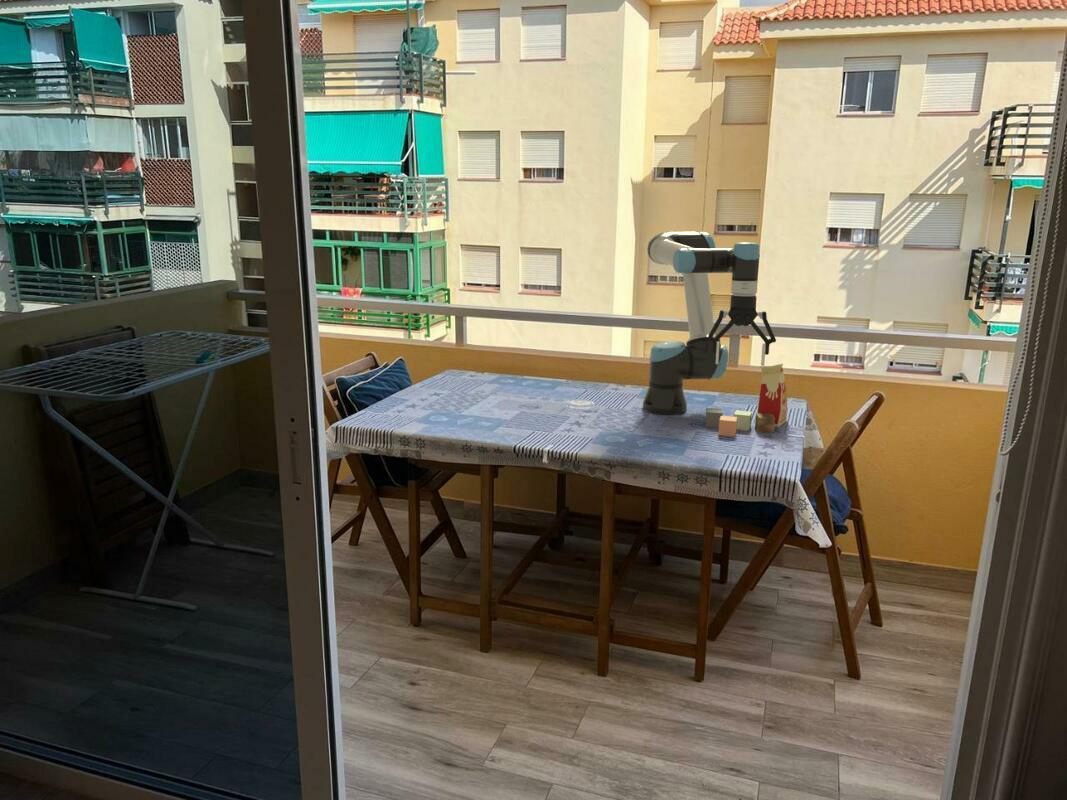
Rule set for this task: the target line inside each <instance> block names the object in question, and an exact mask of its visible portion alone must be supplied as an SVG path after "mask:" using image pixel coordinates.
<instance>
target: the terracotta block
mask: <svg viewBox="0 0 1067 800" xmlns="http://www.w3.org/2000/svg"><path fill="white" fill-rule="evenodd" d="M736 425H737V417H734V416H729V415H723V416H721V417H720V420H719V427H718V435H719V436H726V437H736V433H737V429H736ZM718 435H717V436H718Z"/></svg>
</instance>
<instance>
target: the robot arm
mask: <svg viewBox="0 0 1067 800" xmlns="http://www.w3.org/2000/svg"><path fill="white" fill-rule="evenodd" d="M647 256H648V257H649V259H650V260H651V261H652V262H654V263H656V264H657V265H669V266H670V267H671V266H672V267H673V269H674V271H675V272H676V273H677V274H681V275H682V276H683V277H682V278H683V287H684V294H685V305H686V313H687V322H688V331H689V338H688V339H687V341H686V343H685V342H684V341H680V340H679V341H678V340H677V341H676V340H675V341H673V340H670V341H663V342H659V343H656V344H654V345H653V346H652V347H651V348H650V354H649V355H650V356H649V371H648V372H649V373H648V374H649V377H648V378H649V379H648V388H647V390H646V393H645V396H644V397H643V398H644V399H643V402H642V410H644V411H645V412H648V413H651V414H655V415H669V416H670V415H679V414H683V413H685V412H686V411H687V407H688V403H687V400H686V395H685V392H684V388H683V387H684V386H683V384H684V380H686V381H687V380H713V379H720V378H721V377H723V376H724V374H725V373H726V370H727V367H728V364H729V363H728V362H729V350H728V347H727V346H726V345H724V344H721V338H722V337H723V336H724V335H725V334H726V333H727V332H729V330H730V329H731V328H732V327H733V326H734V325H735V326H737V327H741V326H744V327H748V326H751V327H752V328H753V330H754V331H756V333H757V334H758V336H759V337H760V339H762V340H763V343H762V345H761V357H760V358H761V360H760V361H761V362H760V366H765V359H766V358H765V357H766V355H769V354H770V345H771V344H772V343H776V342H777V339H776V336H775V334H774V333H773V332H774V331H773V330H772V328H771V327H772V326H770V322H769V321H768V317H767V311H765V310H762V311H757V298H758V297H757V296H756V295H757V293H758V282H759V281H758V279H759V266H760V257H761V255H760V244H759V243H757V242H736V243H734V245H733V247H725V248H724V247H723V248H722V247H721V248H720V247H718V248H716V242H715V241H714V238H713V237H712V235H711V234H710V233H708V232H705V231H699V230H696V231H695V230H694V231H665V232H661V233H658V234H657V235H655V236H654V237H652V238H651V239H650V240H649V242H648V244H647ZM709 274H731V286H730V287H731V288H730V290H731V291H730V292H731V294H732V295H731V296H730V307H729V311H727V310H723V309H720V310H719V314H718V317H717V319H716V321H715V323H714V316H713V315H714V314H713V309H712V306H713V305H712V298H711V297H712V296H711V291H710V290H711V289H710V281H709ZM727 316H728V317H729V319H730V320H729V321H728V322H727V324H725V326H724V327H723V328H722V329H720V331H719V332H718V333H717V334H716V331H717V329H718V328H719V326H720V325H721V323H722V321H723V319H725V318H726V317H727ZM757 317H759V319H760V320H762V322H763V325H764V326H765V329H766V331H767V334H768V335H769V338H768V337H767V336H766V334H765V333H764V332H763V331H762V330H761V329H760V328H759V326H758V325H757V323H756V322H755V321H754V320H755V319H756V318H757Z"/></svg>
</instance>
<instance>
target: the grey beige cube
mask: <svg viewBox="0 0 1067 800" xmlns="http://www.w3.org/2000/svg"><path fill="white" fill-rule="evenodd" d="M723 414H724V413H723V409H722V408H712V407H711V408H709V407H706V408H705V421H704V423H705V427H706V428H719V420H720V417H721V416H724V415H723Z"/></svg>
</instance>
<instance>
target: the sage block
mask: <svg viewBox="0 0 1067 800" xmlns="http://www.w3.org/2000/svg"><path fill="white" fill-rule="evenodd" d="M752 415H753V411H749V410H747V411H746V410H738V409H736V410H735V412H733V417H737V425H736V430H739V429H740V430H741V431H747V430H749V431H750V429H751V427H752V419H753V418H752V417H753V416H752ZM740 430H739V431H740Z"/></svg>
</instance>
